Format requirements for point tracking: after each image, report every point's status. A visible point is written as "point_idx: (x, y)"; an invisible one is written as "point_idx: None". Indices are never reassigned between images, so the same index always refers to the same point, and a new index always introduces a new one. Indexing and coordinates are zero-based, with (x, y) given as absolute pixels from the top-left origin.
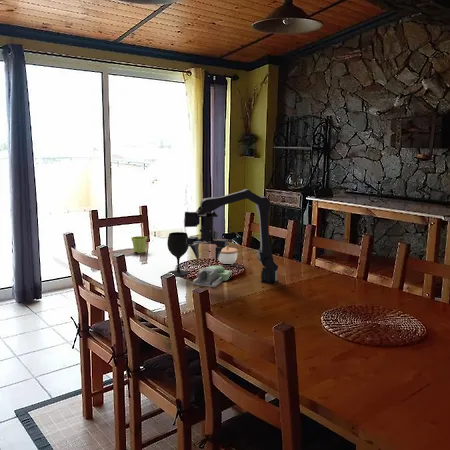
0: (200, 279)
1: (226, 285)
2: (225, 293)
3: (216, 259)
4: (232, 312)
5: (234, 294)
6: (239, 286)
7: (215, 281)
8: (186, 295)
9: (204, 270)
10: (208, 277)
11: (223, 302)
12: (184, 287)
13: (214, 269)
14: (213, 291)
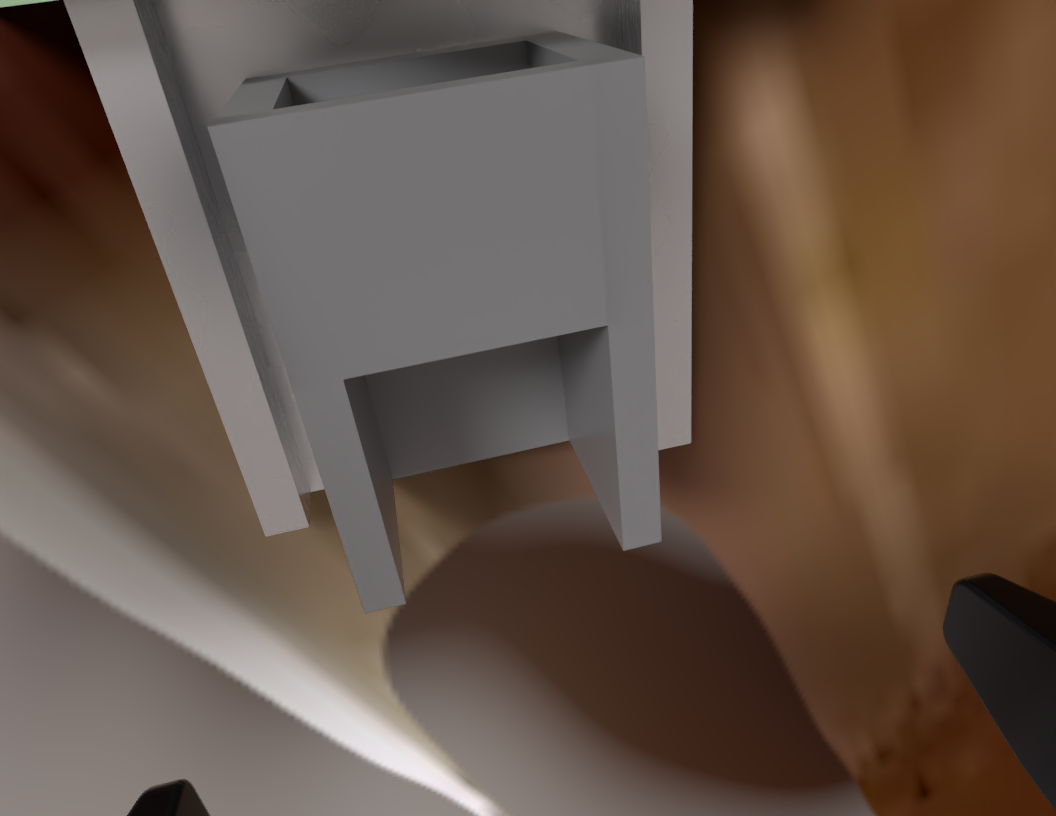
0: (385, 469)
1: (823, 230)
2: (888, 532)
3: (1026, 715)
4: (1021, 806)
5: (999, 502)
6: (1043, 161)
7: (673, 360)
8: (491, 800)
9: (355, 361)
10: (345, 93)
11: (920, 721)
12: (261, 654)
13: (563, 108)
14: (723, 557)
